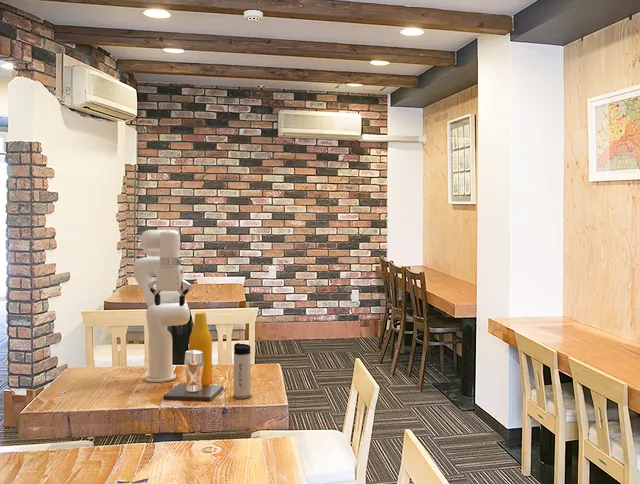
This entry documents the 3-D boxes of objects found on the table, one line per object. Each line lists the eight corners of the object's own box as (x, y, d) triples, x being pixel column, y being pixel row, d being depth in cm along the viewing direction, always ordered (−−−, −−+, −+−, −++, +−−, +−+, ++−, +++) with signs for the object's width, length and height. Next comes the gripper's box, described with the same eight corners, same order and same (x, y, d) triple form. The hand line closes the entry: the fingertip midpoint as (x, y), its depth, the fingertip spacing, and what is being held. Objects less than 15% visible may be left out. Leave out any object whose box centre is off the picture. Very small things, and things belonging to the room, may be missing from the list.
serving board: (179, 388, 254) (179, 384, 254) (223, 389, 253) (223, 385, 253) (163, 399, 238) (163, 395, 238) (210, 401, 237) (210, 397, 237)
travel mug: (242, 393, 248) (242, 342, 247) (253, 396, 244) (254, 344, 243) (229, 396, 243) (229, 344, 242) (241, 400, 239) (241, 346, 238)
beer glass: (198, 393, 241) (198, 354, 241) (181, 392, 243) (181, 353, 242) (206, 388, 248) (206, 350, 248) (189, 387, 250) (189, 349, 249)
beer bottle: (185, 382, 262) (185, 312, 262) (205, 379, 268) (205, 310, 268) (194, 387, 255) (194, 315, 254) (216, 383, 261) (216, 313, 260)
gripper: (194, 261, 254) (194, 304, 255) (152, 261, 255) (152, 303, 256) (187, 263, 247) (187, 307, 247) (144, 262, 248) (144, 306, 248)
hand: (169, 305), depth 252 cm, fingers open, 9 cm apart
